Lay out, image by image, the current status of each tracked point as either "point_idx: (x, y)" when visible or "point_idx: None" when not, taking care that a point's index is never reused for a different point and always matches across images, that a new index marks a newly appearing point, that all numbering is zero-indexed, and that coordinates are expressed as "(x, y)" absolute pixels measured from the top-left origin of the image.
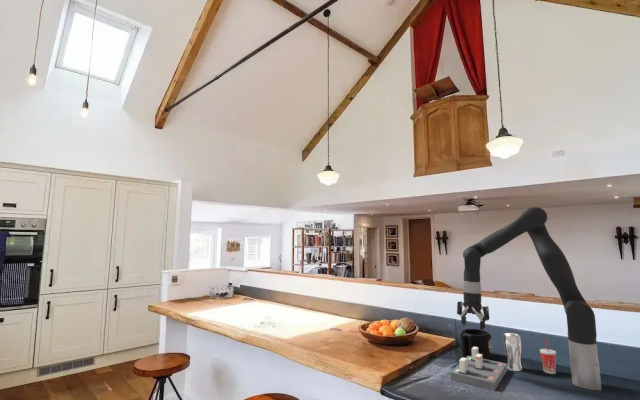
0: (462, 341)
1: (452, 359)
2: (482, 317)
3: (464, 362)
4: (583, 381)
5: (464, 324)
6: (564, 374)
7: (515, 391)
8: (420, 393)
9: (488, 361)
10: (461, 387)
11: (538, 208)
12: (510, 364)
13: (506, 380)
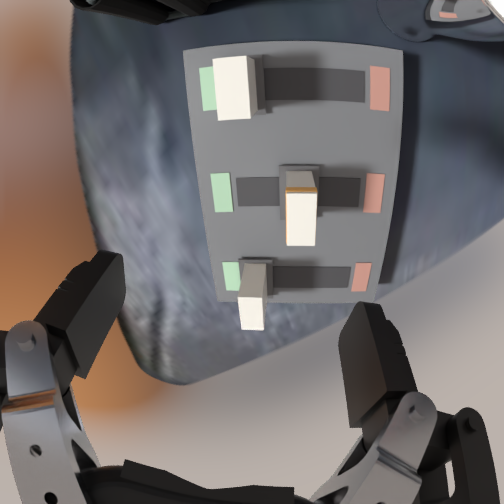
0: (110, 14)
1: (124, 78)
2: (398, 444)
3: (264, 322)
4: None
5: (121, 288)
6: None
7: (426, 253)
8: (207, 374)
9: (314, 71)
10: (273, 314)
11: None
12: (409, 31)
13: (402, 175)
